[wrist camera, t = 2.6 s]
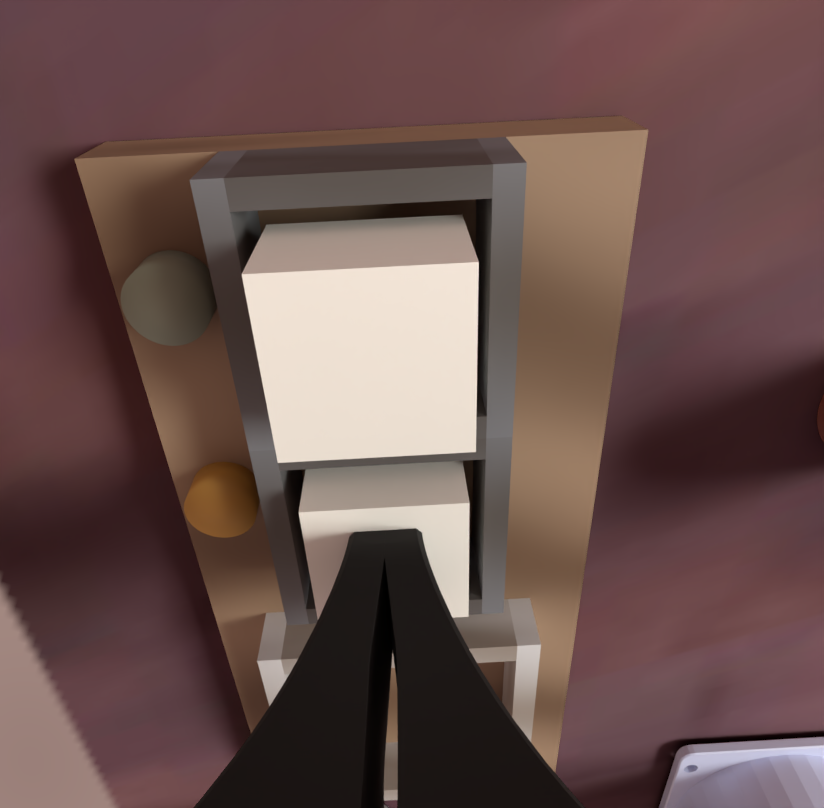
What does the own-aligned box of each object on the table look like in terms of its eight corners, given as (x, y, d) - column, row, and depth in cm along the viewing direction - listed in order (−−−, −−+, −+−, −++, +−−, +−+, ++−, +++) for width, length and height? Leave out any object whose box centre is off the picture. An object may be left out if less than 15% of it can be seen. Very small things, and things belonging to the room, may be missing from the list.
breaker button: (461, 382, 12) (475, 451, 10) (293, 391, 12) (277, 462, 10) (462, 214, 11) (478, 261, 9) (266, 225, 11) (241, 274, 9)
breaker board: (545, 731, 24) (569, 836, 21) (274, 747, 24) (258, 854, 21) (622, 115, 13) (694, 153, 10) (105, 141, 13) (19, 188, 10)
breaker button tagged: (458, 542, 16) (468, 616, 14) (326, 549, 16) (318, 625, 14) (458, 435, 14) (469, 502, 12) (310, 443, 14) (298, 512, 12)
